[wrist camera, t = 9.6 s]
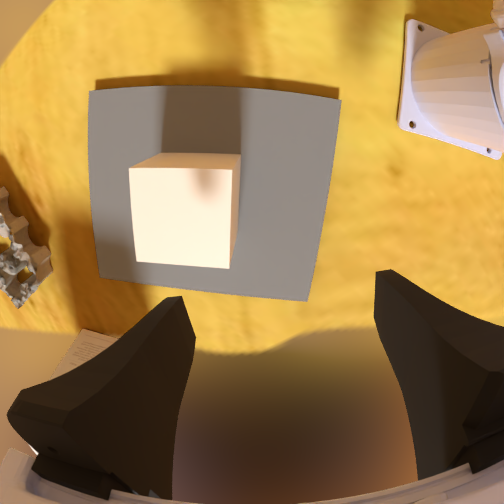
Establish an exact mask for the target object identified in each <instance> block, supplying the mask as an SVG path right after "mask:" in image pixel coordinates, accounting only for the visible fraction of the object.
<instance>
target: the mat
mask: <svg viewBox="0 0 504 504" xmlns="http://www.w3.org/2000/svg"><path fill="white" fill-rule="evenodd" d="M340 108H341V100H338V99H332V98H327V97H321V96H314V95H308V94H301V93H293V92H285V91H276V90H267V89H256V88H243V87H226V86H192V85H176V86H143V87H126V88H114V89H103V90H94V91H89V108H88V163H89V184H90V199H91V211H92V222H93V231H94V240H95V248H96V255H97V262H98V269H99V275H100V278H106V279H113V280H119V281H126V282H133V283H141V284H148V285H155V286H163V287H171V288H179V289H187V290H195V291H204V292H213V293H222V294H231V295H240V296H250V297H260V298H271V299H282V300H293V301H305V302H307V301H308V296H309V292H310V287H311V282H312V278H313V273H314V268H315V263H316V258H317V253H318V248H319V243H320V237H321V232H322V227H323V221H324V215H325V210H326V204H327V198H328V192H329V186H330V180H331V173H332V167H333V160H334V153H335V146H336V139H337V132H338V124H339V116H340ZM159 153H219V154H241V168H240V190H239V214H238V233H237V237H236V241H235V246H234V250H233V255H232V259H231V263H230V268H229V269H226V268H213V267H199V266H186V265H174V264H161V263H149V262H137V261H136V252H135V243H134V234H133V223H132V212H131V198H130V182H129V168H130V167H132V166H134V165H136V164H138V163H140V162H142V161H144V160H147V159H149V158H151V157H153V156H155V155H157V154H159Z"/></svg>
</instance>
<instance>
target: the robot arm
mask: <svg viewBox="0 0 504 504" xmlns="http://www.w3.org/2000/svg"><path fill="white" fill-rule="evenodd" d="M490 15H491V18H492V19H493V21H494V22H495V23H491V24H487V25H482V26H478V27H474V28H471V29H467V30H463V31H459V32H456V33H452V34H449V33H447V32H445V31H442V30H440V29H438V28H435V27H433V26H430V25H428V24H425V23H423V22H420V21H417V20H414V19H410V20H408V21H407V22H406V29H405V49H404V63H403V75H402V86H401V95H400V104H399V112H398V119H397V124H398V126H399V128H400V129H402V130H405V131H409V132H413V133H417V134H420V135H424V136H427V137H431V138H434V139H438V140H441V141H444V142H447V143H450V144H454V145H457V146H460V147H463V148H466V149H468V150H471V151H474V152H477V153H480V154H482V155H485V156H488V157H490V158H493V159H496V160H499V159H500V158H501V155H502V152H503V153H504V0H494V1H493V9H492V10H491V12H490ZM418 26H420V27H421V28H422V31H420V30H419V29H418ZM411 121H413V123H414V126H413V127H412V128H410V126H409V123H410V122H411ZM487 148H488V152H487ZM374 320H375V323H376V327H377V330H378V333H379V337H380V339H381V342H382V344H383V347H384V349H385V351H386V354H387V356H388V358H389V361H390V363H391V365H392V367H393V370H394V372H395V375H396V377H397V379H398V382H399V385H400V387H401V390H402V393H403V397H404V401H405V405H406V409H407V413H408V417H409V422H410V427H411V431H412V436H413V442H414V449H415V455H416V464H417V474H418V481H416V482H413V483H409V484H406V485H402V486H398V487H394V488H390V489H386V490H382V491H378V492H373V493H368V494H363V495H358V496H353V497H347V498H341V499H334V500H328V501H320V502H311V503H300V504H504V327H502V326H499V325H496V324H493V323H490V322H487V321H484V320H481V319H479V318H476V317H474V316H471V315H469V314H467V313H465V312H463V311H461V310H458V309H456V308H454V307H452V306H450V305H449V304H447V303H445V302H443V301H441V300H440V299H438V298H436V297H435V296H433V295H431V294H430V293H428V292H426V291H425V290H423V289H422V288H420V287H418V286H417V285H415V284H414V283H412V282H411V281H409V280H408V279H406V278H405V277H403V276H401V275H400V274H398V273H397V272H395V271H393V270H391V269H390V270H384V271H377V272H376V280H375V302H374ZM195 341H196V336H195V333H194V331H193V328H192V325H191V322H190V319H189V316H188V313H187V310H186V307H185V304H184V301H183V298H182V296H176V297H167V298H166V299H164V300H163V301H162V302H160V303H159V304H158V305H157V306H156V307H155V308H154V309H152V310H151V311H150V312H149V313H148V314H147V315H146V316H145V317H144V318H143V319H141V320H140V321H139V322H138V323H137V324H136V325H135V326H134V327H133V328H131V329H130V330H129V331H128V332H127V333H125V334H124V335H123V336H122V337H121V338H119V339H118V340H117V341H116V342H114V343H113V344H112V345H111V346H109V347H108V348H106V349H105V350H104V351H102V352H101V353H99V354H98V355H96V356H95V357H93V358H92V359H90V360H88V361H87V362H85V363H83V364H81V365H80V366H78V367H76V368H74V369H73V370H71V371H69V372H67V373H65V374H63V375H61V376H58V377H56V378H54V379H51V380H49V381H47V382H44V383H41V384H38V385H35V386H32V387H30V388H27V389H23V390H21V391H20V393H19V394H18V396H17V398H16V399H15V401H14V402H13V404H12V406H11V407H10V409H9V410H8V412H7V417H8V420H9V422H10V424H11V426H12V427H13V428H14V429H15V431H16V432H17V433H18V434H19V435H20V436H21V437H22V438H23V439H24V440H25V441H26V442H27V443H28V444H29V445H30V446H31V447H32V448H33V449H34V450H35V451H36V452H37V453H38V455H37V457H36V459H34V458H33V457H31V456H30V455H28V454H26V453H23V452H21V451H18V450H16V449H14V448H9V450H8V451H7V454H6V455H5V457H4V459H3V461H2V463H1V465H0V504H199V503H188V502H179V501H172V470H173V454H174V443H175V434H176V427H177V420H178V414H179V409H180V405H181V401H182V398H183V394H184V390H185V387H186V383H187V380H188V376H189V372H190V369H191V365H192V361H193V356H194V349H195Z"/></svg>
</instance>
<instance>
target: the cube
mask: <svg viewBox="0 0 504 504" xmlns="http://www.w3.org/2000/svg"><path fill="white" fill-rule="evenodd" d="M240 168H241V154H219V153H159V154H157V155H155V156H153V157H151V158H149V159H147V160H144V161H142V162H140V163H138V164H136V165H134V166H132V167H130V168H129V182H130V198H131V212H132V223H133V234H134V243H135V252H136V261H137V262H149V263H161V264H174V265H186V266H199V267H213V268H226V269H229V268H230V263H231V259H232V255H233V250H234V246H235V241H236V237H237V233H238V214H239V190H240Z"/></svg>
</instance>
